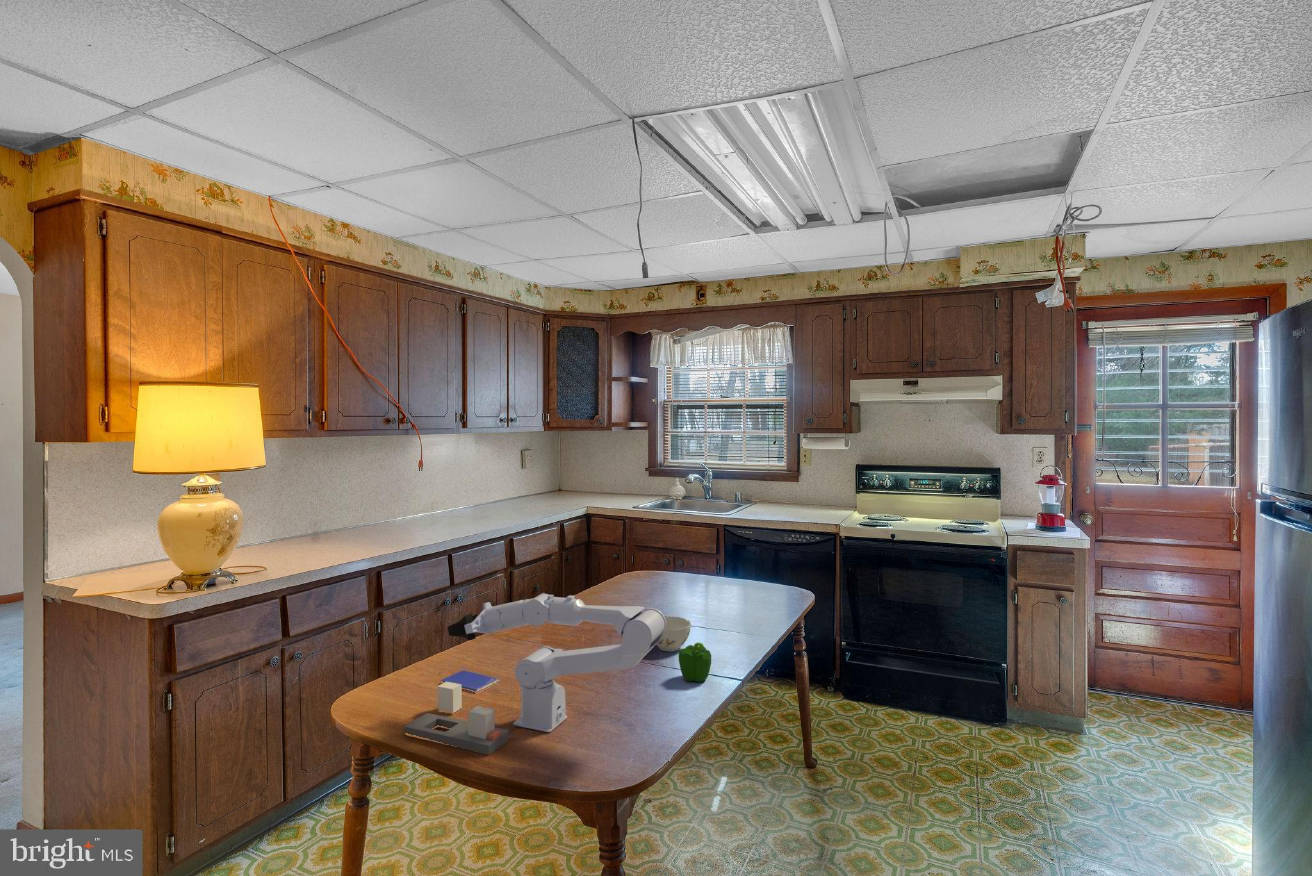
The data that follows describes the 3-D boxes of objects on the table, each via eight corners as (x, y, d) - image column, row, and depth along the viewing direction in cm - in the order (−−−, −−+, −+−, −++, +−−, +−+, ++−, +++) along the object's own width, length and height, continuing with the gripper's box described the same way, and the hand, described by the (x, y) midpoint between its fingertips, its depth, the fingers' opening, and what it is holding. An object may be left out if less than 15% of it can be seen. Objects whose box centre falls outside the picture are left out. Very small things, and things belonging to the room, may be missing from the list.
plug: (461, 709, 155) (461, 684, 154) (453, 715, 152) (453, 689, 152) (446, 706, 156) (446, 681, 156) (438, 711, 153) (437, 686, 153)
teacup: (676, 659, 186) (676, 631, 186) (640, 650, 193) (640, 623, 193) (702, 644, 199) (702, 617, 199) (668, 636, 206) (668, 611, 206)
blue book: (499, 678, 171) (464, 669, 177) (476, 689, 164) (440, 679, 170) (499, 684, 171) (464, 675, 177) (476, 695, 164) (440, 686, 170)
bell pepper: (674, 675, 175) (674, 638, 174) (702, 671, 178) (702, 634, 177) (686, 687, 167) (686, 648, 167) (716, 682, 170) (716, 644, 170)
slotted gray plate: (509, 739, 140) (509, 707, 140) (489, 755, 134) (488, 721, 133) (427, 721, 148) (426, 691, 148) (404, 735, 142) (403, 703, 142)
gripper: (520, 592, 158) (474, 602, 162) (484, 606, 144) (435, 617, 149) (527, 621, 157) (481, 631, 162) (491, 638, 143) (442, 648, 148)
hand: (459, 626), depth 155 cm, fingers open, 7 cm apart
